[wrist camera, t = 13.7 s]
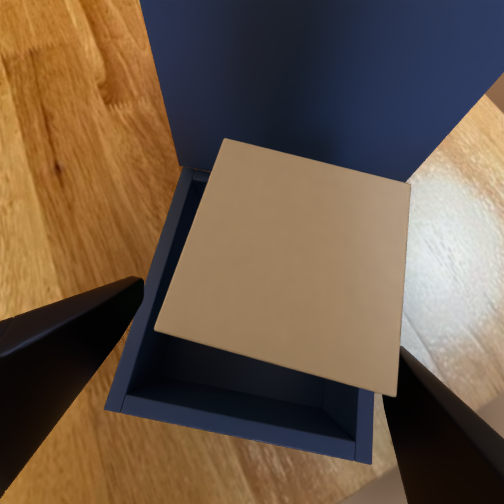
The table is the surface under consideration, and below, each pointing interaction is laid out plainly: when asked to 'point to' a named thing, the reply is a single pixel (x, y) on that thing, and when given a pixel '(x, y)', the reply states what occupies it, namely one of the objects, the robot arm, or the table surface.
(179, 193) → the dark blue open container
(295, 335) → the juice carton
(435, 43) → the lid
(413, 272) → the table surface
